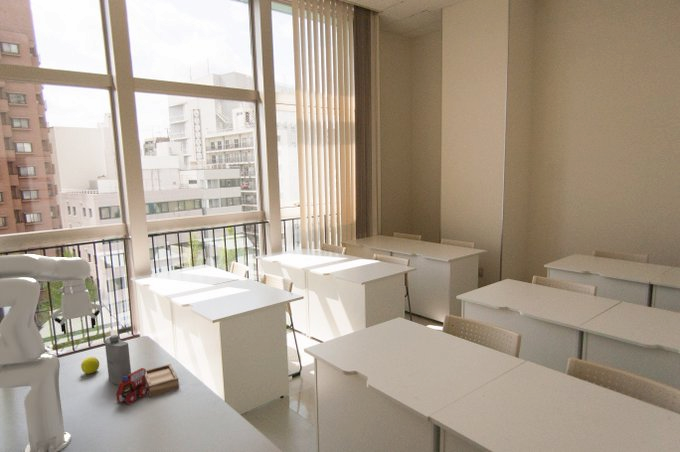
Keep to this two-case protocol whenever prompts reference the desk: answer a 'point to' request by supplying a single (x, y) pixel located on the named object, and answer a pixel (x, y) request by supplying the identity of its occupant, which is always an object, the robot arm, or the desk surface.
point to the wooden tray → (161, 379)
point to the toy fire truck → (132, 387)
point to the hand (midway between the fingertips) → (79, 330)
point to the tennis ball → (90, 365)
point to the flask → (117, 359)
